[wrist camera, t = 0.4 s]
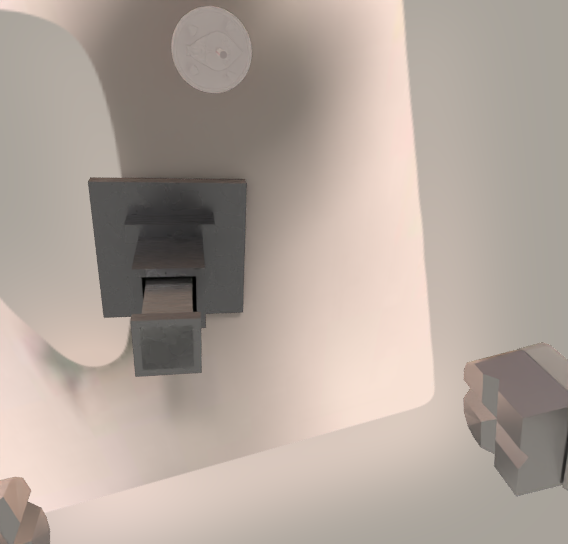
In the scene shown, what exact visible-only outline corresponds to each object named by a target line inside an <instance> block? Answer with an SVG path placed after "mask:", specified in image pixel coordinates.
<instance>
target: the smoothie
mask: <svg viewBox="0 0 568 544" xmlns="http://www.w3.org/2000/svg"><path fill="white" fill-rule="evenodd" d="M171 52H172V58H173V62H174V64H175V66H176V69H177V71H178V72H179V74H180V75H181V76H182V78H183V79H184V80H185V81H186V82H187V83H188V84H190V85H191V86H192V87H194V88H196V89H197V90H200V91H202V92H206V93H222V92H226V91H228V90H230V89H232V88H234V87H235V86H237V85H238V84H239V83H240V82H241V81H242V80H243V79H244V77H245V76H246V74H247V72H248V70H249V67H250V64H251V59H252V46H251V41H250V37H249V35H248V32H247V30H246V28H245V27H244V25H243V24H242V23H241V21H240V20H239V19H238V18H237V17H236V16H235V15H233V14H232V13H231V12H229V11H227V10H225V9H223V8H220V7H215V6H202V7H198V8H196V9H193V10H191V11H189V12H188V13H187V14H186V15H184V16H183V17H182V18H181V20H180V21H179V23H178V24H177V25H176V27H175V30H174V33H173V36H172V42H171Z"/></svg>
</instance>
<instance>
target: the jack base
mask: <svg viewBox="0 0 568 544" xmlns="http://www.w3.org/2000/svg"><path fill="white" fill-rule="evenodd" d="M88 186H89V193H90V202H91V210H92V211H91V212H92V219H93V228H94V237H95V246H96V255H97V263H98V272H99V280H100V289H101V298H102V306H103V315H104V317H131V316H132V314H141V313H142V307H143V300H144V293H145V287H146V280H147V277H178V276H192V304H193V312H201V328H206V316H205V314H212V313H237V312H243V288H244V255H245V222H246V188H247V183H246V180H245V179H166V178H90V179H89V181H88Z"/></svg>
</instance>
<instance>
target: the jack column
mask: <svg viewBox="0 0 568 544" xmlns="http://www.w3.org/2000/svg"><path fill="white" fill-rule="evenodd" d="M131 332H132V343H133V354H134V366H135V377H139V376H155V375H172V374H188V373H202V364H201V312H193V304H192V276H178V277H147V280H146V287H145V293H144V300H143V307H142V313H141V314H132V316H131Z"/></svg>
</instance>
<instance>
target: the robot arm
mask: <svg viewBox="0 0 568 544" xmlns="http://www.w3.org/2000/svg"><path fill="white" fill-rule="evenodd" d="M464 381H465V382H466V383H467V384H468V386H469V387H470V389H469V391H468V392H467V394H466V395H465V397H464V414H465V417H466V421H467V424H468V427H469V429H470V431H471V433H472V435H473V437H474V438H475V440H476V441H477V443H478V444H479V445H480V447H481V448H483V449H485V450H487V451H489V452H492V453H493V454H495V461H494V466H495V468H496V469H497V471H498V472H499V473H500V475H501V476H502V477H503V479H504V480H505V482H506V483H507V484H508V486H509V487H510V488H511V490H512V491H513V493H514V494H515V495H516V496H520V495H524V494H528V493H532V492H536V491H540V490H544V489H548V488H552V487H556V486H560V485H563V488H564V489H566V490H568V360H567V359H566V358H565V357H564V356H563V355H561V354H560V353H559V352H558V351H557V350H555V349H554V348H553V347H552V346H551V345H549V344H546V343H543V342H541V343H537V344H534V345H530V346H526V347H523V348H519V349H517V350H513V351H509V352H505V353H501V354H498V355H494V356H490V357H486V358H482V359H479V360H475V361H471V362H467V363H466V365H465V368H464ZM30 493H31V489H30V488H29V486H28V485H27V483H26V482H25V480H24V479H23V478H21V477H12V478H8V479H4V480H0V544H50V528H49V525H48V521H47V517H46V515H45V514H44V512H43V510H42V508H41V507H39V506H36V505H34V504H32V503H30V502H28V499H29V496H30Z"/></svg>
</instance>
